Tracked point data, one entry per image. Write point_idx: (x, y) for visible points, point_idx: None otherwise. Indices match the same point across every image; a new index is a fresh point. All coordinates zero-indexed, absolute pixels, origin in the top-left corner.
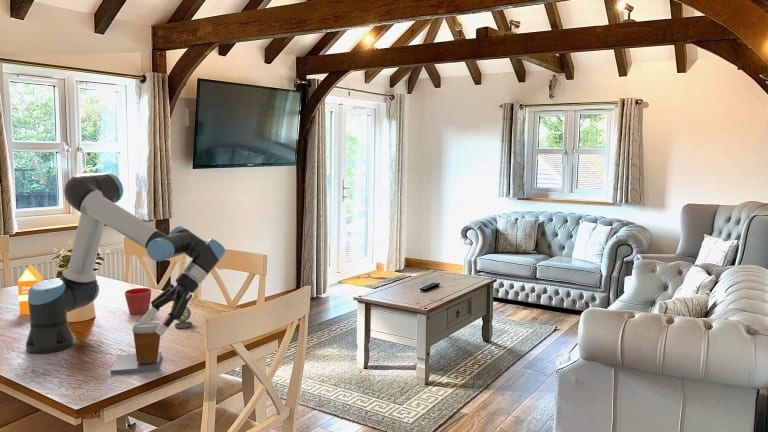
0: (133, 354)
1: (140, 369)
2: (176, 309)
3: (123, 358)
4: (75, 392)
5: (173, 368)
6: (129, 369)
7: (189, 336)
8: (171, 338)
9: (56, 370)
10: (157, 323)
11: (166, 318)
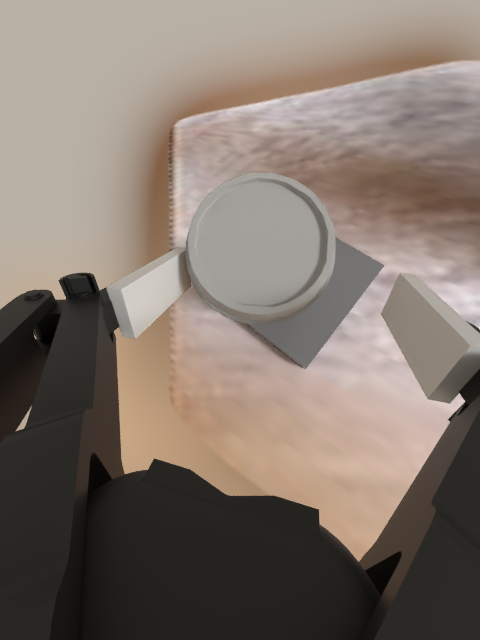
0: (352, 297)
1: None
2: (9, 321)
3: (341, 262)
4: (245, 135)
5: (191, 333)
6: None
7: None
8: None
9: (416, 139)
10: (265, 307)
11: (124, 279)
